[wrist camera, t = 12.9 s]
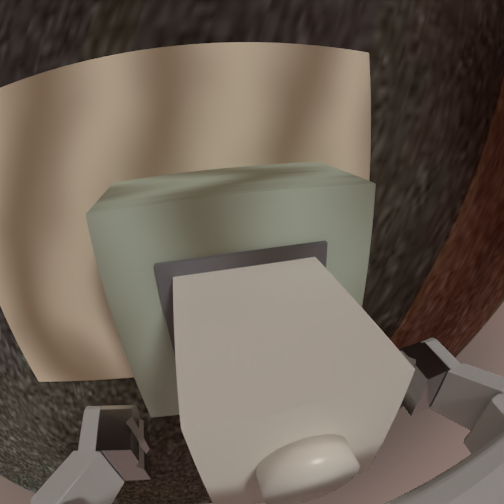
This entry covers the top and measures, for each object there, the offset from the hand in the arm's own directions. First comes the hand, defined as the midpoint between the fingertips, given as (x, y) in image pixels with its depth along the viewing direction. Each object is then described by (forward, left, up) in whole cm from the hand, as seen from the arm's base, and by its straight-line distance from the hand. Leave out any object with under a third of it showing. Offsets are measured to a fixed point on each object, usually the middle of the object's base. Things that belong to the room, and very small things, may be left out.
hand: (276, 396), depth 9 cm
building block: (0, 0, -4) cm, 4 cm away
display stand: (+3, -2, -10) cm, 11 cm away
